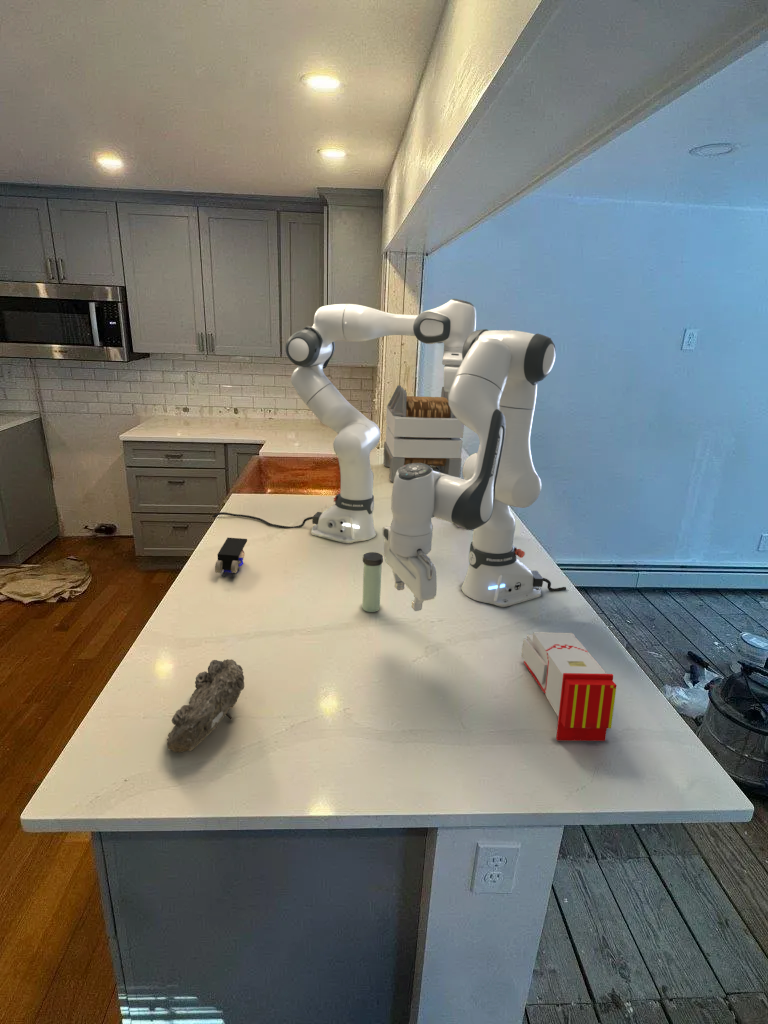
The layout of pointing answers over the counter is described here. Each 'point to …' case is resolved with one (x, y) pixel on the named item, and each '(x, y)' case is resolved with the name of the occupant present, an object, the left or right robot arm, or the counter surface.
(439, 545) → the counter surface
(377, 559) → the lid
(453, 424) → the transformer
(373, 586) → the jar
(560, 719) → the toy
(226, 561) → the figurine character
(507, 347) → the right robot arm
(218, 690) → the fossil
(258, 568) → the counter surface
